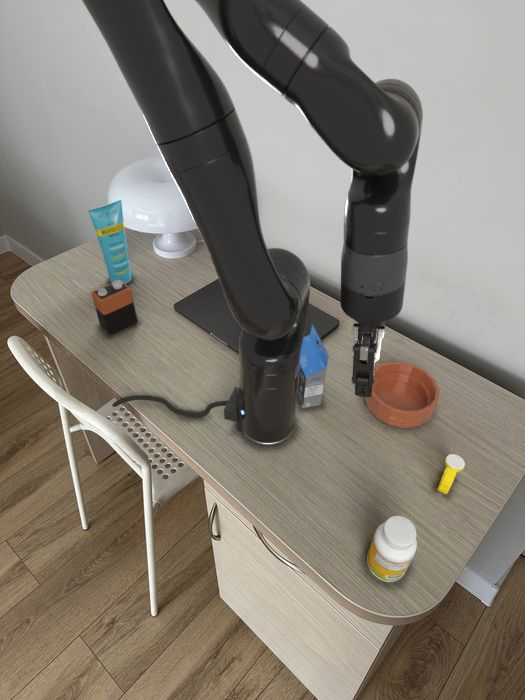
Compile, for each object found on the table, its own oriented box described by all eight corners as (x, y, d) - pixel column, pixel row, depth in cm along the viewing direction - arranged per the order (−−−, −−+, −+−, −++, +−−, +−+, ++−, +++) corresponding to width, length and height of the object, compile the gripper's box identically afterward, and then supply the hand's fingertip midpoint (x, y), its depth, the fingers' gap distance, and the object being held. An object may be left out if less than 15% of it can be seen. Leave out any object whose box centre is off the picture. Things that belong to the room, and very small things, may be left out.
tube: (113, 290, 112) (94, 214, 99) (102, 281, 115) (82, 205, 102) (140, 277, 116) (125, 202, 103) (129, 269, 119) (113, 194, 106)
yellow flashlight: (448, 502, 74) (459, 481, 70) (430, 494, 76) (440, 473, 71) (458, 473, 78) (469, 451, 74) (441, 465, 79) (451, 444, 75)
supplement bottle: (378, 536, 70) (391, 502, 64) (412, 560, 68) (429, 527, 61) (359, 565, 67) (370, 532, 61) (393, 591, 65) (410, 560, 58)
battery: (138, 322, 104) (130, 284, 97) (110, 336, 101) (99, 298, 94) (128, 313, 107) (119, 275, 100) (99, 326, 103) (88, 287, 96)
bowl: (359, 419, 86) (362, 402, 83) (370, 372, 94) (374, 355, 91) (429, 437, 83) (436, 421, 80) (435, 387, 92) (441, 370, 89)
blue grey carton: (287, 374, 94) (291, 325, 85) (306, 371, 94) (312, 322, 86) (301, 409, 87) (307, 360, 79) (322, 405, 88) (329, 356, 80)
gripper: (349, 242, 64) (347, 338, 74) (331, 307, 53) (331, 406, 64) (409, 245, 62) (398, 343, 72) (402, 312, 51) (390, 415, 62)
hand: (366, 373), depth 68 cm, fingers open, 8 cm apart
